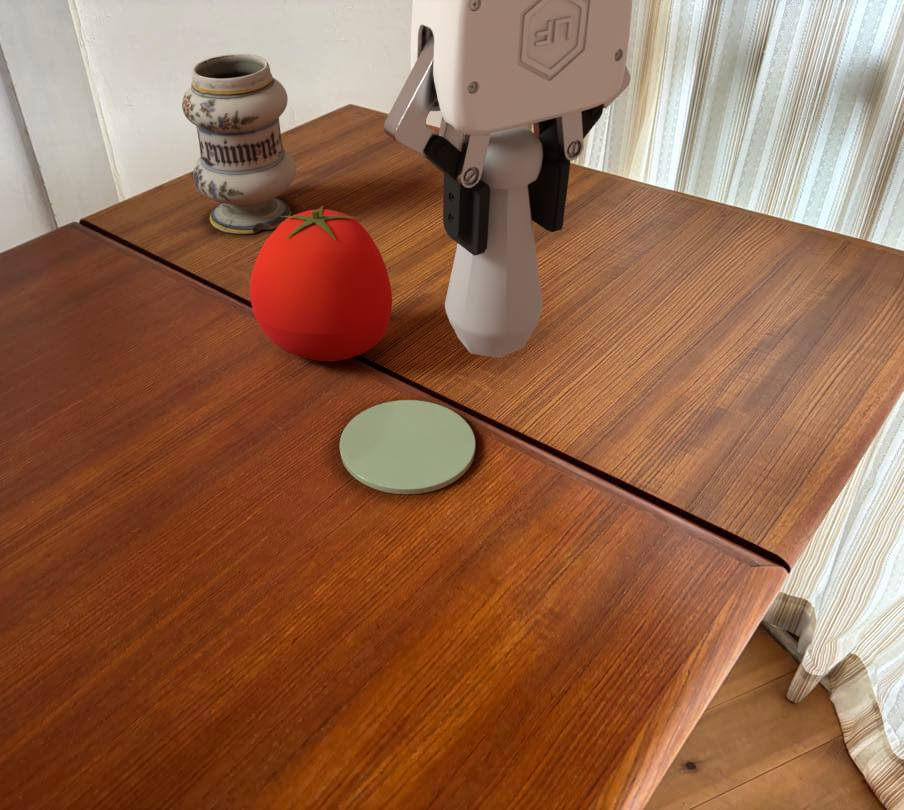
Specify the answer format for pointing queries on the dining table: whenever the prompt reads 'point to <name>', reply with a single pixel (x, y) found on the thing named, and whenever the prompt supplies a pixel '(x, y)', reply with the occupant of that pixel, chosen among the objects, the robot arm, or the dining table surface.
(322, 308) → the tomato
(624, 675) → the dining table surface
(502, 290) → the salt shaker
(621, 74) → the robot arm
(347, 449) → the coaster
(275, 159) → the apothecary jar
